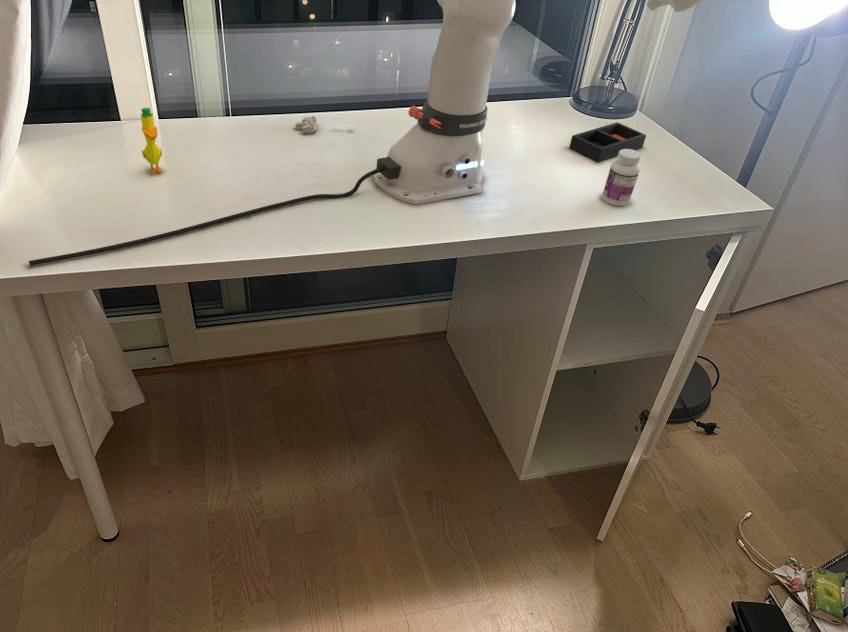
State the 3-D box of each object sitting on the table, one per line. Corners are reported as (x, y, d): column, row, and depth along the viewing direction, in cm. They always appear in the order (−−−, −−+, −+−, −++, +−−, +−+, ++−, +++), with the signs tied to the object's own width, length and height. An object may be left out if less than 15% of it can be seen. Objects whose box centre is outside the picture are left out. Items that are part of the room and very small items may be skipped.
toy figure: (168, 178, 133) (160, 116, 126) (149, 181, 132) (139, 118, 124) (161, 163, 138) (152, 102, 130) (142, 165, 137) (132, 104, 129)
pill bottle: (602, 191, 140) (616, 144, 133) (630, 196, 139) (645, 150, 132) (600, 203, 136) (614, 155, 130) (628, 209, 135) (644, 161, 128)
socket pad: (642, 147, 157) (646, 134, 155) (597, 162, 150) (601, 149, 148) (613, 134, 162) (617, 122, 160) (568, 148, 155) (572, 135, 153)
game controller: (292, 125, 156) (292, 113, 154) (342, 121, 159) (343, 110, 157) (299, 135, 152) (299, 123, 150) (350, 131, 155) (350, 120, 153)
